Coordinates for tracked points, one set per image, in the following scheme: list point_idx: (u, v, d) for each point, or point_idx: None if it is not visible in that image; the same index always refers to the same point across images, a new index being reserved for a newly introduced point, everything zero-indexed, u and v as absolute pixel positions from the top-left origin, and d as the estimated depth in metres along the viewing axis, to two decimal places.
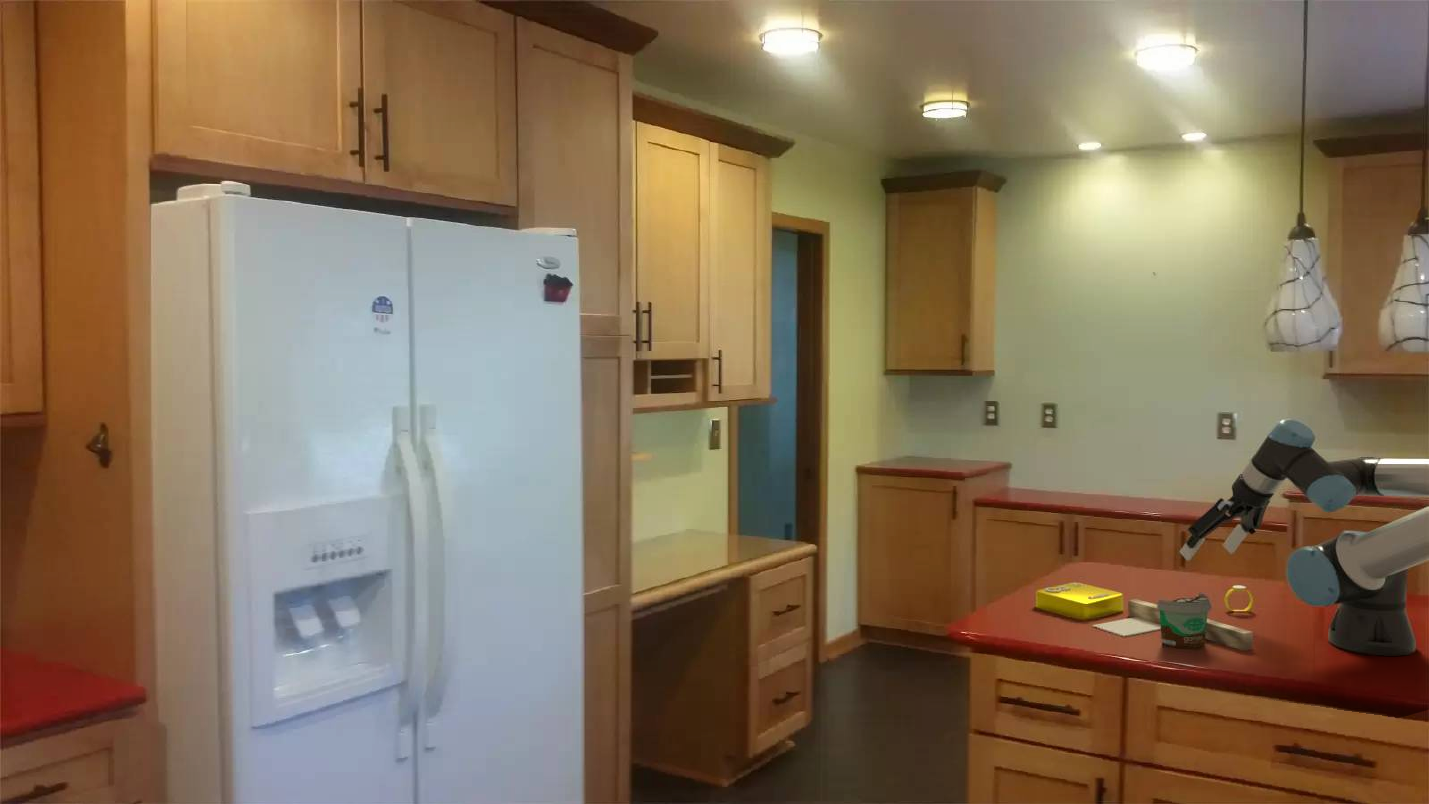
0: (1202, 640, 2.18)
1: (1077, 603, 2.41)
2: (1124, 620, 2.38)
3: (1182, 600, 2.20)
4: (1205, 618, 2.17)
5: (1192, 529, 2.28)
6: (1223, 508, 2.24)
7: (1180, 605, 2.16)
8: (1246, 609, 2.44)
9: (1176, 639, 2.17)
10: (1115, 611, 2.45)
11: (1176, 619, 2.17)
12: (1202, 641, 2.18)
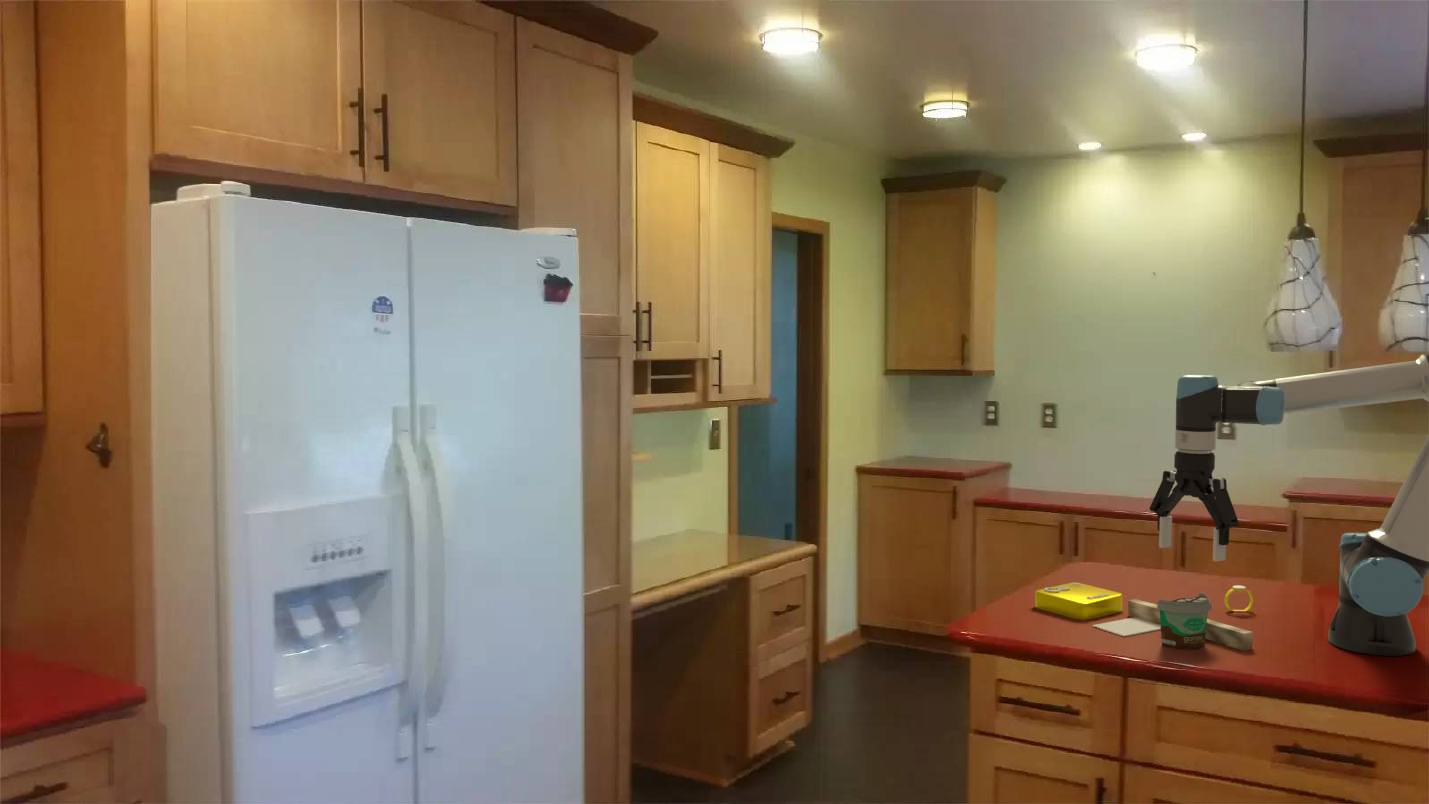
0: (1202, 640, 2.18)
1: (1076, 603, 2.41)
2: (1124, 620, 2.38)
3: (1182, 600, 2.20)
4: (1205, 618, 2.17)
5: (1231, 522, 2.09)
6: (1225, 483, 2.11)
7: (1180, 605, 2.16)
8: (1246, 609, 2.44)
9: (1176, 639, 2.17)
10: (1114, 611, 2.45)
11: (1176, 619, 2.17)
12: (1202, 641, 2.18)
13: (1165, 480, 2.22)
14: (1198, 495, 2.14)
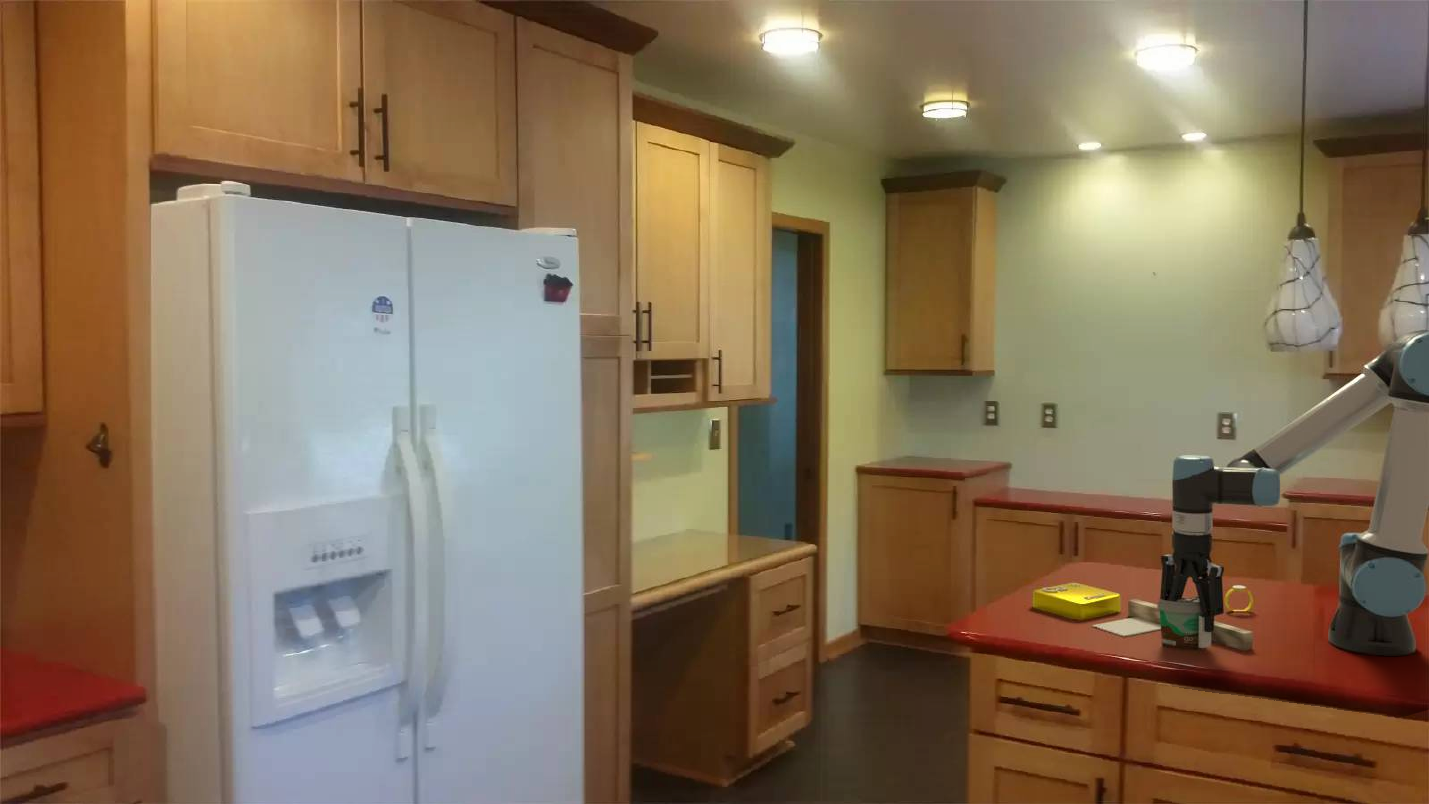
0: None
1: (1073, 603, 2.40)
2: (1124, 620, 2.38)
3: (1182, 600, 2.20)
4: None
5: (1217, 611, 2.12)
6: (1222, 572, 2.12)
7: (1180, 605, 2.16)
8: (1246, 609, 2.44)
9: (1176, 639, 2.17)
10: (1112, 612, 2.44)
11: (1176, 619, 2.17)
12: None
13: (1165, 565, 2.22)
14: (1193, 577, 2.15)
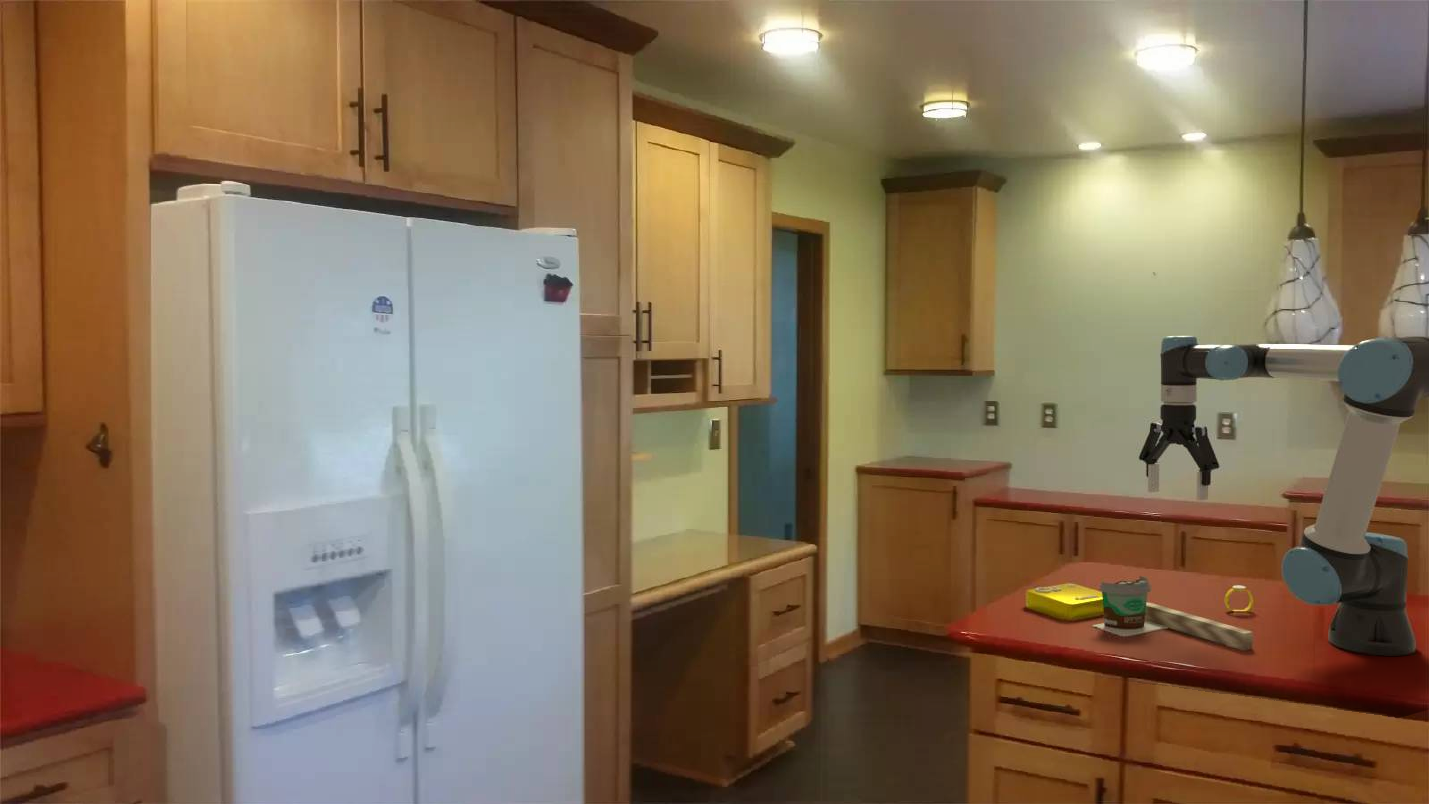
0: (1142, 620, 2.32)
1: (1062, 603, 2.40)
2: None
3: (1123, 582, 2.34)
4: (1144, 599, 2.32)
5: (1213, 464, 2.35)
6: (1206, 431, 2.38)
7: (1121, 587, 2.30)
8: (1246, 609, 2.44)
9: (1117, 619, 2.31)
10: None
11: (1117, 600, 2.31)
12: (1142, 621, 2.32)
13: (1152, 431, 2.48)
14: (1182, 442, 2.40)
